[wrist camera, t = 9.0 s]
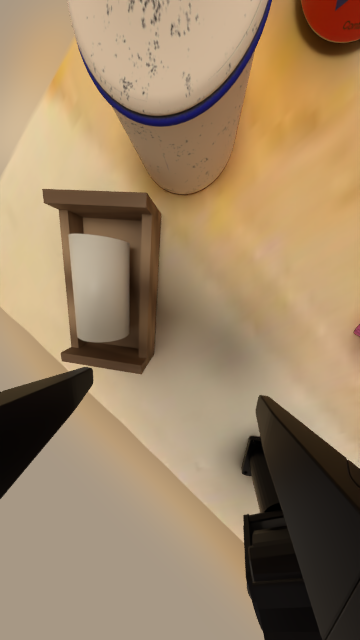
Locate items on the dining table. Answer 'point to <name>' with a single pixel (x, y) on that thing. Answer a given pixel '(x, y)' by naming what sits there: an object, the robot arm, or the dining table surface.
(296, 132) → the dining table surface
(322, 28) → the soda can
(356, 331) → the gum box
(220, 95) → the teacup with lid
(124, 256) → the roll
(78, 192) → the wooden tray
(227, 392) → the dining table surface
